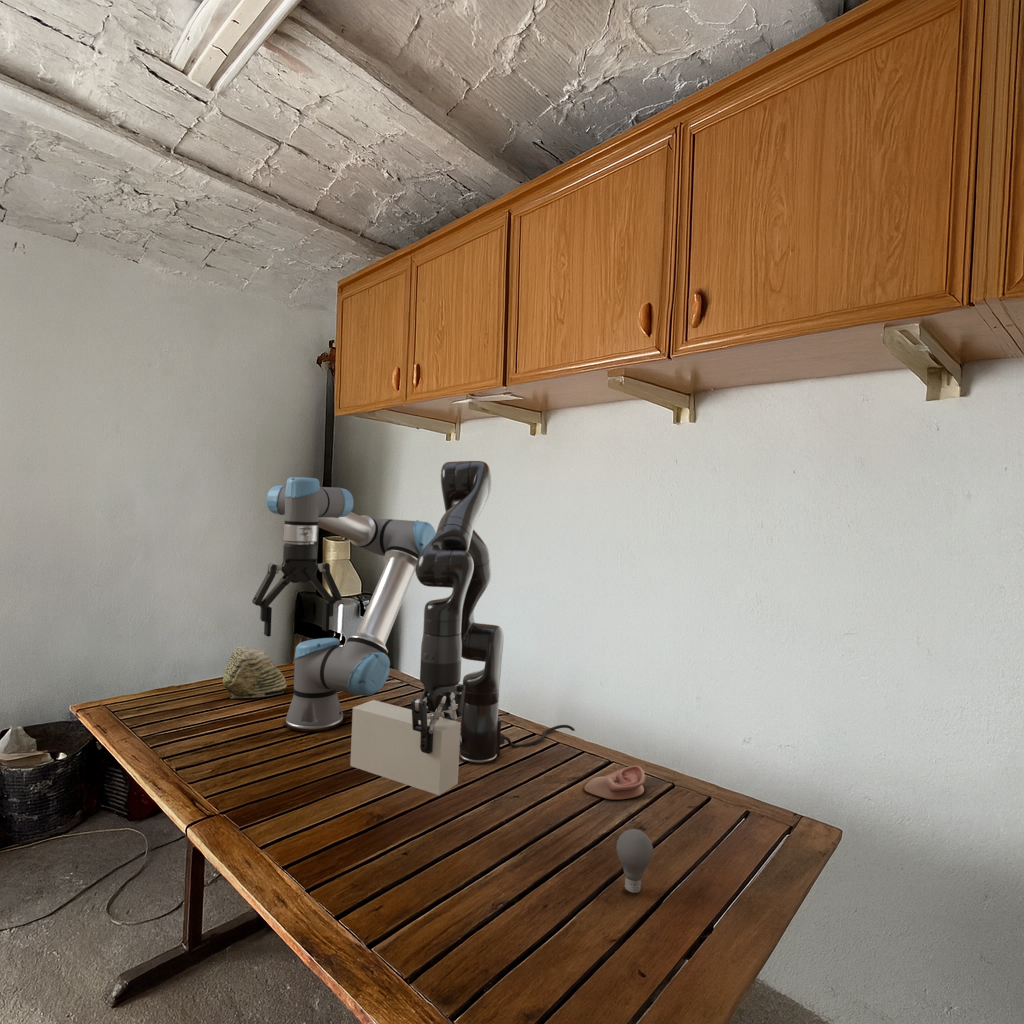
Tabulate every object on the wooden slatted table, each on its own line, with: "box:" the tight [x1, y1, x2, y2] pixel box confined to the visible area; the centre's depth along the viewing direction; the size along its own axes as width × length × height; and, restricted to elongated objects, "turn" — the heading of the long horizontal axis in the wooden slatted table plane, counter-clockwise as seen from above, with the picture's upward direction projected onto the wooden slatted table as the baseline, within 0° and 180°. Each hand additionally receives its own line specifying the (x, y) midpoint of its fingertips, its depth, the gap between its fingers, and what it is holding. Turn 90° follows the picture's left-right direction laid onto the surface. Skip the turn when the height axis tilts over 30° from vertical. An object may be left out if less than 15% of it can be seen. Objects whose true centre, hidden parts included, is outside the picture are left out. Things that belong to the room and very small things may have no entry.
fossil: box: [222, 646, 288, 699], centre depth 198 cm, size 9×18×15 cm, turn 132°
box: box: [349, 699, 461, 796], centre depth 122 cm, size 22×6×12 cm, turn 60°
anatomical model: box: [584, 765, 646, 800], centre depth 143 cm, size 13×4×12 cm
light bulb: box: [615, 828, 654, 894], centre depth 106 cm, size 6×6×10 cm
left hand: (297, 632), depth 149 cm, fingers open, 13 cm apart
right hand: (437, 746), depth 118 cm, fingers closed on box, 6 cm apart
